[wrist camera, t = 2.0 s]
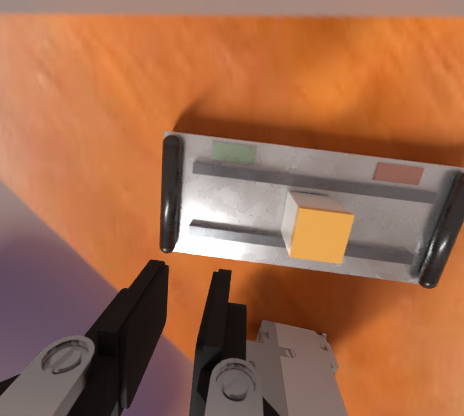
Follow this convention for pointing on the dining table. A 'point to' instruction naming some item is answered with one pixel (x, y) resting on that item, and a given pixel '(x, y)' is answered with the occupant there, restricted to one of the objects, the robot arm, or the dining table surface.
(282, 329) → the circuit breaker
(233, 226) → the panel
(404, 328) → the dining table surface
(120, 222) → the dining table surface
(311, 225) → the toggle
